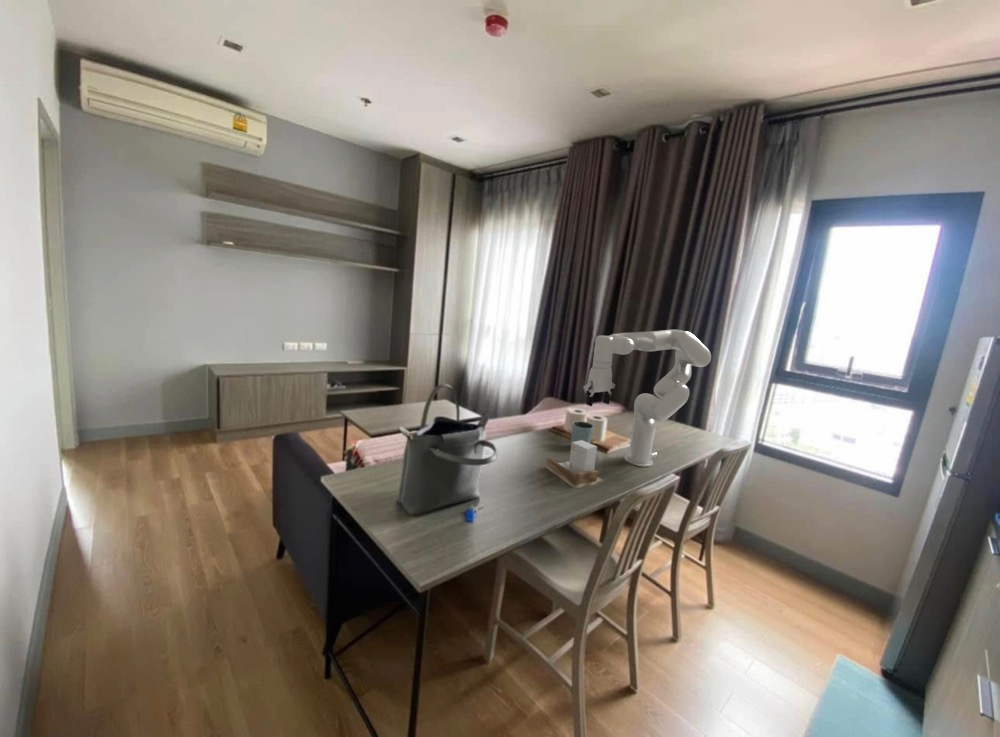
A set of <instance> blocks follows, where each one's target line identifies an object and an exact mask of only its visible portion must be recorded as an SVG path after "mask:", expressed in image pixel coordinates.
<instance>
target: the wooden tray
mask: <svg viewBox="0 0 1000 737" xmlns="http://www.w3.org/2000/svg"><path fill="white" fill-rule="evenodd" d="M545 464H546V465H545V468H546V469H547V470H548V471H550V472H551V473H553V474H554V475H555V476H556V477H558V478H560V479H561V480H563V481H564V482H566V483H567V484H568V485H569V486H571V487H572V488H573V489H578V488H585V487H588V486H589V487H590V486H594V485H601V484H603V483H604V479H602V478H600V477H599V476H598V473H599V471H598V470H597V469H594V470H591V471H585V472H579V473H577V475H575V474H574V473H572V472H571V471H569V470H568V468H569V461H566V462H565V461H564V462H557V461H556V460H554V459H553V458H551V457H547V458H546V463H545Z"/></svg>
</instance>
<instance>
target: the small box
mask: <svg viewBox="0 0 1000 737" xmlns="http://www.w3.org/2000/svg"><path fill="white" fill-rule="evenodd" d="M597 452H598V446H596V445H595V444H592V443H591V442H590V443H588V442H585V441H583V440H580V441H575V442H572V445H571V444H570V453H569V454H570V455H569V460H568V462H569V468H568V470H569V471H571V472H572V473H574V474H575V475H577V473H579V472H585V471H591V470H595V465H596V457H597Z"/></svg>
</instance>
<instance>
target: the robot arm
mask: <svg viewBox="0 0 1000 737" xmlns="http://www.w3.org/2000/svg"><path fill="white" fill-rule="evenodd" d="M634 350H635V351H642V352H658V351H666V350H675V353H674V354H675V355H674V356H675V357H674V358H675V359H674V365H673V368H672V369H671V370H670V371H669V372H667V374H665V376H663V377H662V378H661V379H660V380H659V381H658V382H657V383H656V384H655V386H654V387H653V392H654V394H655V395H654V394H651V393H646V392H645V393H641V394H639V395H637V396H636V397H635V399H634V404H633V406H634V407H633V412H634V414H633V424H632V431H631V438H630V443H629V448H628V449H629V450H628V453H626V454H625V455H624V457H623V458H624V461H626V462H627V463H629V464H630V465H634V466H636V467H643V468H644V467H645V468H647V467H652V466H654V460H653V458H655V457H658V452H655V451H654V452H652V450H653V445H654V439H655V434H656V426H657V425H656V424H657V422H664V421H667V420H668V419H670V417H671V416H673V415H674V414H675V413H676V412H677V411H679V409H680V408H682V407H683V406H684V405H685V404H686V403H687V402H688V400H689V396H690V388H689V387H688V386H687V383H688V382H689V381H690V380H691V377H692V366H693V367H698V368H703V367H706V366H707V365H709V364H710V362H711V360H712V354H711V351H710V350H709V348H708V347H707V346H705V344H704V343H702V341H701V340H700V339H699V338H698V337H696V336H695V335H694V334H693V333H692V332H690V331H686V330H680V329H665V330H662V329H661V330H655V331H653V330H652V331H639V332H619V333H612V334H610V335H597V336H596V337H595V340H594V351H593V352H594V353H593V358H592V359H593V360H592V367H591V368H590V370H589V373H588V378H587V383H586V384H585V385H583V390H584V393H585V396H586V401H585V403H586V405H587V406H589V407H592V406H593V404H594V397H593V396H594V394H595V393H603V398H602V403H604V404H605V405H606V404H607V405H610V402H611V401H610V400H611V395H612V393H613V392H614V389H615V387H616V383H614V382H613V379H612V378H613V372H612V370H613V369H612V365H613V354H617V355H629V354H630V353H632V352H633V351H634ZM656 421H657V422H656Z"/></svg>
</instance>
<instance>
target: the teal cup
mask: <svg viewBox="0 0 1000 737" xmlns="http://www.w3.org/2000/svg"><path fill="white" fill-rule="evenodd" d="M571 427H572V429H571V438H570V446H571V445H572V442H575V441H580V440H583V441H585V442H588V443H590V444H591V440H592V436H593V432H594V428H595V425H594V424H593V423H590V422H587V421H581V420H577V421H573V422H572V424H571Z"/></svg>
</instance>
